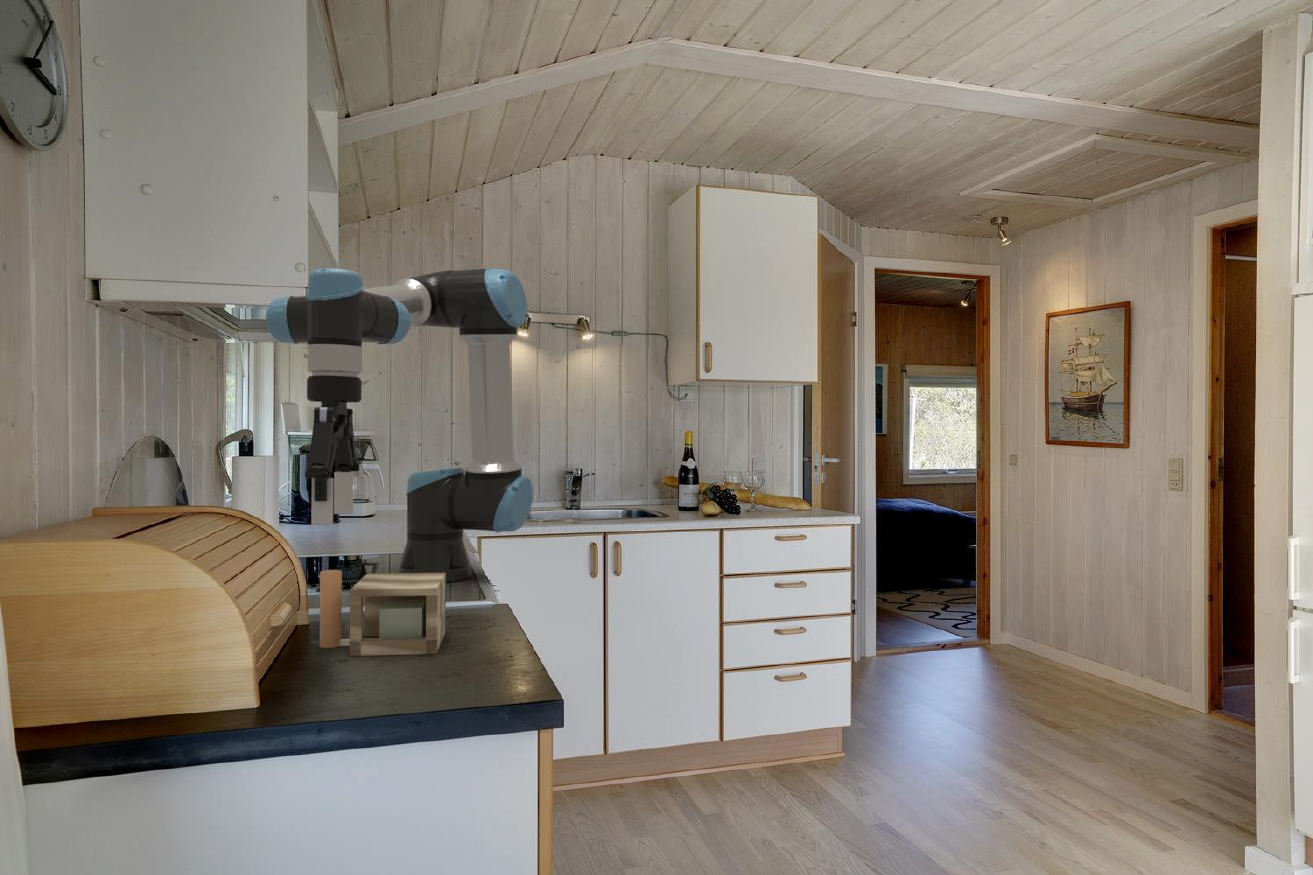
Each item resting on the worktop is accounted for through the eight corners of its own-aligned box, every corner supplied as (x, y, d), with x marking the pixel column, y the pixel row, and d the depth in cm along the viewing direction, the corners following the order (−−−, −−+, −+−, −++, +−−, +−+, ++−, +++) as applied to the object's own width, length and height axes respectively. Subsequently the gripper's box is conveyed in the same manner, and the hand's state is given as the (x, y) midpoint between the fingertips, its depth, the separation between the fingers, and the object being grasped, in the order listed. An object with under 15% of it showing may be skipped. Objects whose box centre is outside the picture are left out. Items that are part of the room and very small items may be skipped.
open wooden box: (366, 634, 129) (367, 573, 129) (445, 632, 131) (445, 572, 130) (349, 655, 117) (350, 589, 117) (436, 653, 119) (437, 588, 119)
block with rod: (325, 640, 125) (325, 568, 125) (426, 637, 127) (427, 566, 127) (314, 651, 119) (315, 575, 119) (421, 648, 121) (422, 574, 121)
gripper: (328, 379, 133) (327, 509, 134) (283, 369, 109) (281, 529, 109) (376, 380, 134) (375, 509, 135) (342, 371, 110) (341, 529, 110)
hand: (333, 519), depth 122 cm, fingers open, 13 cm apart
